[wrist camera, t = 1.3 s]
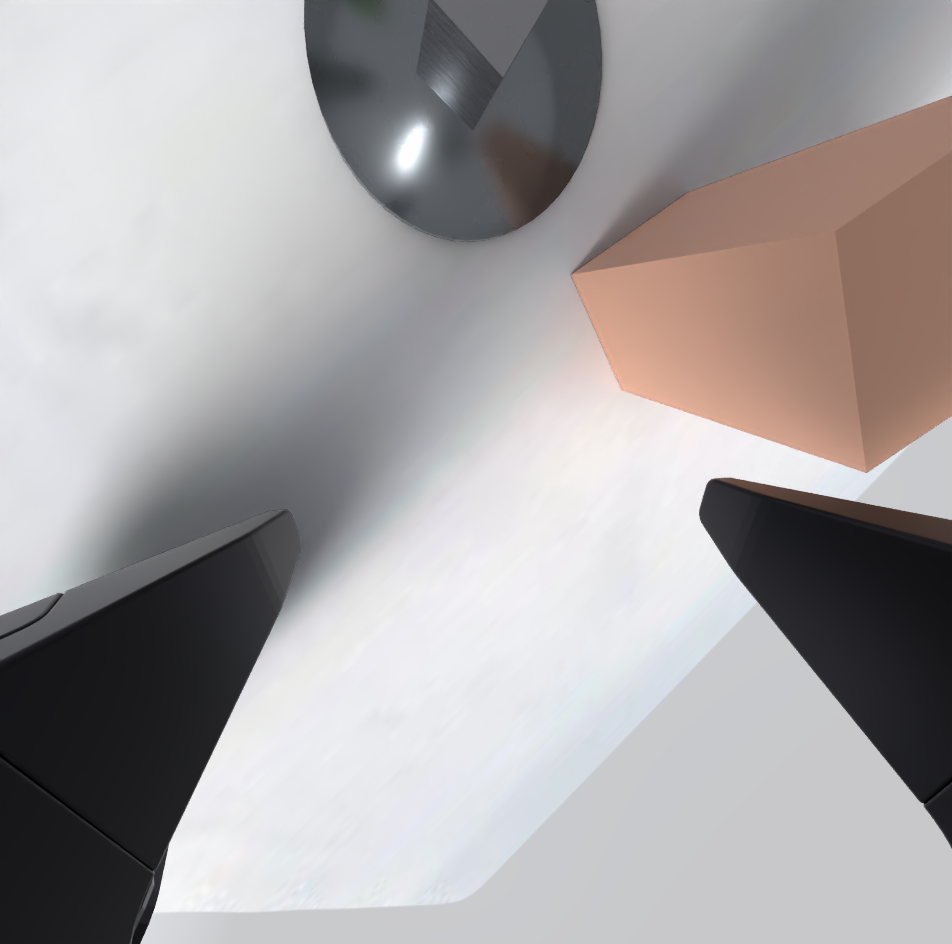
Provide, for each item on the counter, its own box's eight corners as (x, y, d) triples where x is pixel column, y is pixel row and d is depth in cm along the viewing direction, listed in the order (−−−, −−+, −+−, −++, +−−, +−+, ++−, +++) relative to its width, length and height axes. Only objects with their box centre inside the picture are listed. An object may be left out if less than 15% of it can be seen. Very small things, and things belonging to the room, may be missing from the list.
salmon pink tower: (621, 390, 22) (866, 473, 11) (570, 274, 19) (835, 231, 8) (723, 319, 21) (1075, 332, 11) (688, 192, 19) (1121, 33, 8)
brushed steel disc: (491, 296, 18) (524, 294, 14) (248, 96, 14) (196, 10, 10) (646, 57, 16) (736, -25, 12) (417, -265, 12) (439, -557, 8)
